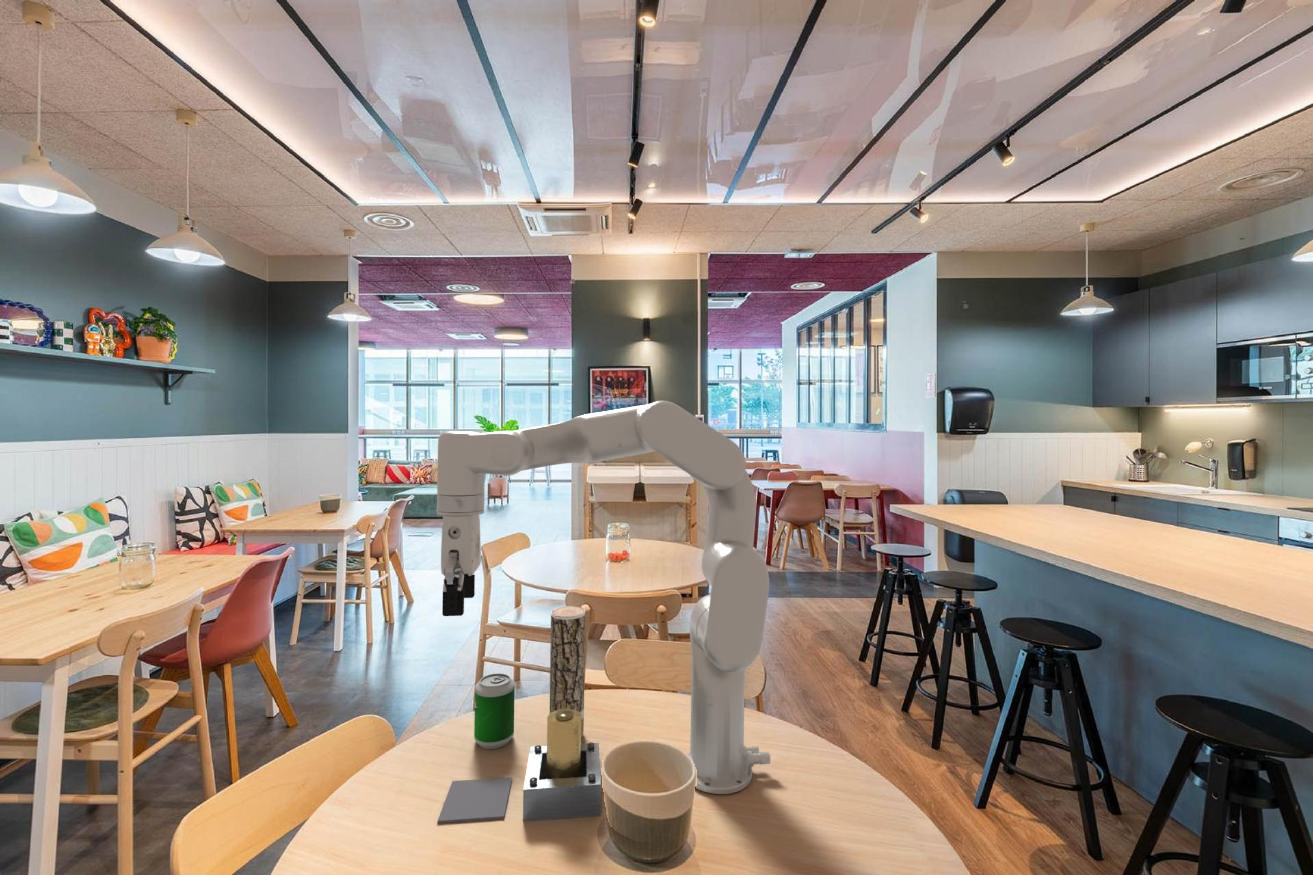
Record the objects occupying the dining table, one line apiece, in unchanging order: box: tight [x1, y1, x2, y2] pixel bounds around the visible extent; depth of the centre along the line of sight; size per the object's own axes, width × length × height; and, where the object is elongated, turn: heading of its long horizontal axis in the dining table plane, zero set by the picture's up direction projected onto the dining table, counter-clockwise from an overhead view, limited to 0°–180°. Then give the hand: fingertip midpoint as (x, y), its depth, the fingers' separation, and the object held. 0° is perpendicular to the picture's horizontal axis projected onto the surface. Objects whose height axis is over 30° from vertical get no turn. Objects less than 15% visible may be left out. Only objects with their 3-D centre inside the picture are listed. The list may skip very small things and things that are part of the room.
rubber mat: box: [436, 776, 513, 824], centre depth 92 cm, size 10×10×1 cm
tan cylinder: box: [546, 709, 582, 779], centre depth 93 cm, size 6×6×13 cm
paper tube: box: [548, 605, 586, 738], centre depth 111 cm, size 7×7×25 cm
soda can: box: [473, 672, 516, 750], centre depth 109 cm, size 8×8×12 cm
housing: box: [522, 741, 602, 822], centre depth 93 cm, size 12×12×6 cm
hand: (459, 605), depth 94 cm, fingers open, 9 cm apart
